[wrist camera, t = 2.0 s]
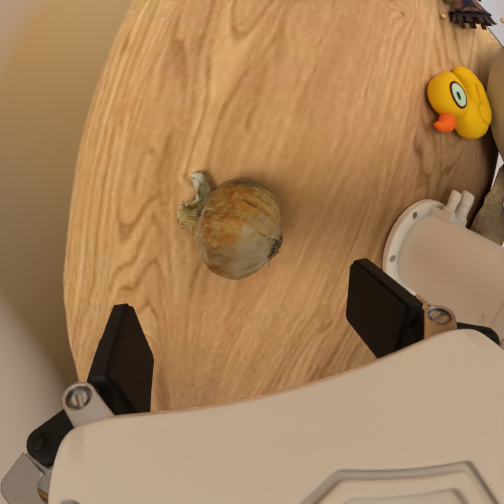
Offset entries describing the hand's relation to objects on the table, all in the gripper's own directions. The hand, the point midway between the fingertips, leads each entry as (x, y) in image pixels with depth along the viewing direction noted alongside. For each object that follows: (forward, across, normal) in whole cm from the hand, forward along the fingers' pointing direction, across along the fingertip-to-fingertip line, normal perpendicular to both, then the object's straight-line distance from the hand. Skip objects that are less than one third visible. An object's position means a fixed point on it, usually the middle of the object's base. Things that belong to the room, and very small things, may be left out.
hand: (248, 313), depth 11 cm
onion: (+10, -5, 0) cm, 11 cm away
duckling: (+11, -33, -10) cm, 36 cm away
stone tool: (+11, -44, +6) cm, 46 cm away
